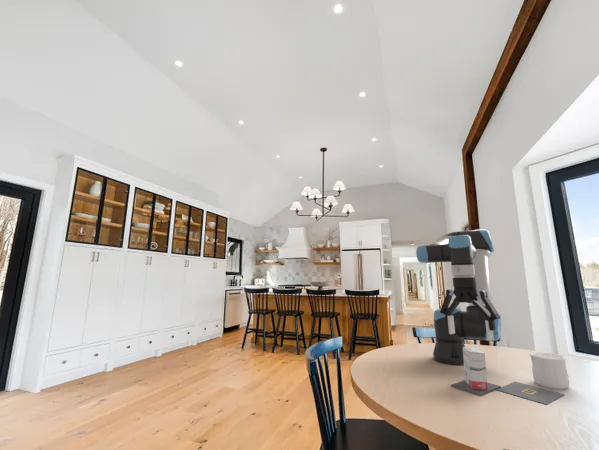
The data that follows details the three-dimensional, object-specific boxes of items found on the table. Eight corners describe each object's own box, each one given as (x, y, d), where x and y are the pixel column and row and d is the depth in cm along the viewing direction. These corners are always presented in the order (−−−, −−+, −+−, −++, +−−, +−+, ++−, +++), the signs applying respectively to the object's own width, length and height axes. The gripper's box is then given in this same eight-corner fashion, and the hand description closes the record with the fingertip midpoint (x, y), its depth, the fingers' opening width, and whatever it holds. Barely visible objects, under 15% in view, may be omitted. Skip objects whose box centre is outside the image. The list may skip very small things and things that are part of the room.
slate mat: (495, 390, 99) (495, 389, 99) (515, 382, 106) (515, 381, 106) (546, 404, 87) (546, 403, 87) (564, 394, 94) (564, 393, 94)
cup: (528, 382, 106) (524, 353, 107) (544, 378, 109) (540, 351, 111) (559, 391, 97) (554, 360, 99) (576, 387, 101) (571, 357, 103)
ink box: (489, 390, 96) (485, 352, 98) (472, 389, 97) (468, 351, 100) (480, 381, 105) (476, 346, 107) (464, 380, 106) (461, 346, 108)
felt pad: (451, 386, 102) (450, 384, 102) (471, 379, 109) (471, 377, 109) (480, 396, 94) (480, 394, 94) (500, 387, 100) (500, 386, 100)
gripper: (427, 277, 117) (432, 332, 113) (495, 277, 96) (503, 345, 92) (438, 276, 120) (444, 330, 117) (506, 276, 100) (515, 341, 96)
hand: (470, 336), depth 105 cm, fingers open, 13 cm apart
